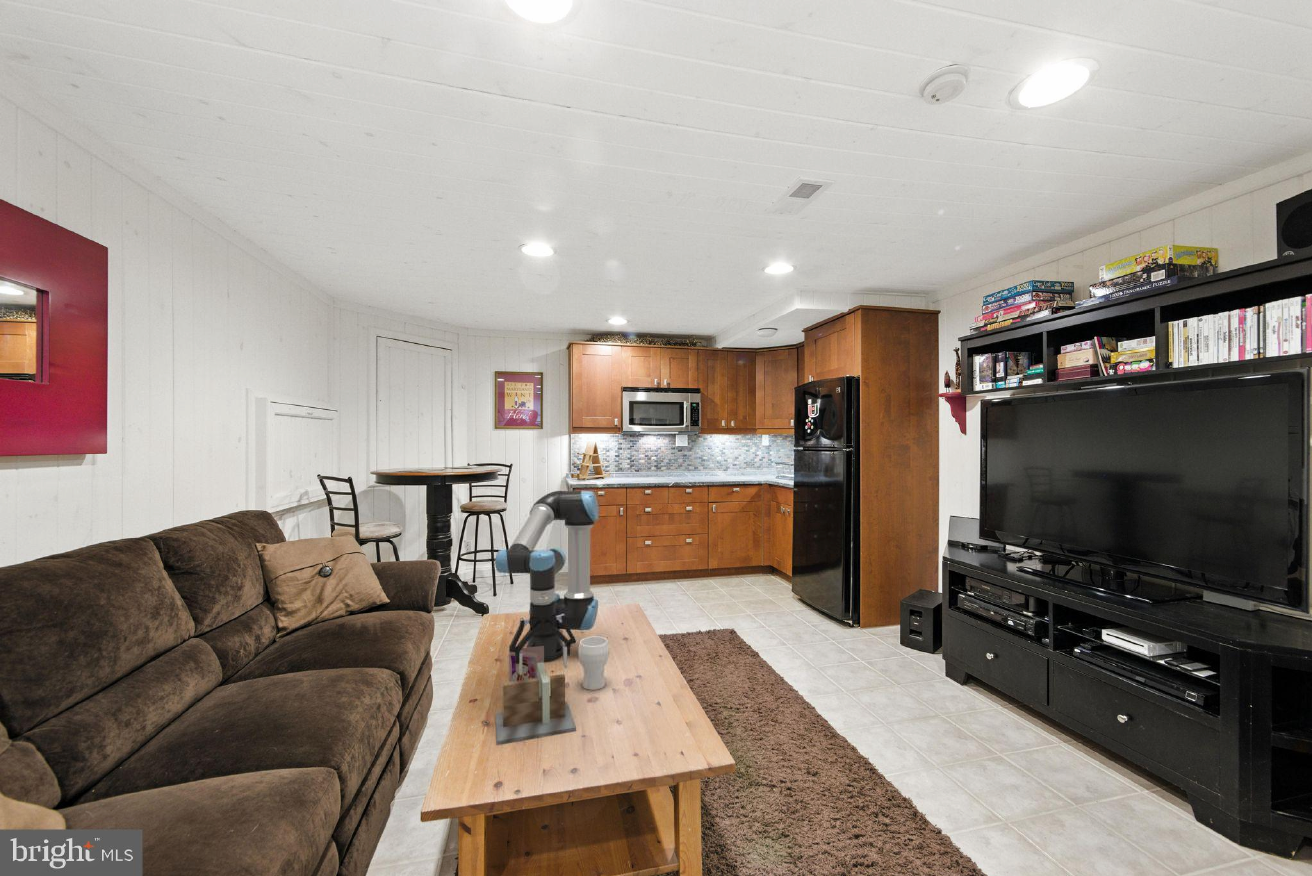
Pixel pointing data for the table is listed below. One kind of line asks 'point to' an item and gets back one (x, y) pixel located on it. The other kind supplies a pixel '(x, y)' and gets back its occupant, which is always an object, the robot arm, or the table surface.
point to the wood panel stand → (532, 711)
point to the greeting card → (526, 663)
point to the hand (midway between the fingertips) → (543, 669)
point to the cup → (593, 661)
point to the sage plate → (544, 692)
